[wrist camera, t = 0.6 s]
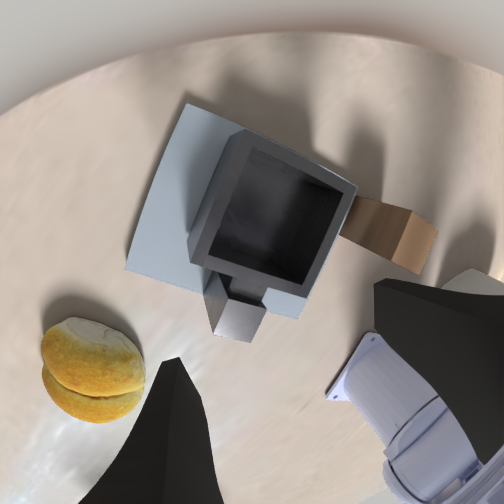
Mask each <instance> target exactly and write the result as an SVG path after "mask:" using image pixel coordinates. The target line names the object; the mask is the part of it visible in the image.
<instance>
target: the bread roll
mask: <svg viewBox="0 0 504 504" xmlns="http://www.w3.org/2000/svg"><path fill="white" fill-rule="evenodd" d="M41 352H42V355H43V358H44V360H45V363H44V365H43V369H42V379H43V382H44V385H45V388H46V390H47V392H48V394H49V395H50V397H51V398H52V400H53V401H54V402H55V403H56V404H57V405H58V406H59V407H60V408H61V409H62V410H64V411H65V412H66V413H68V414H70V415H71V416H73V417H75V418H78V419H80V420H83V421H87V422H92V423H107V422H111V421H114V420H117V419H119V418H121V417H123V416H125V415H127V414H128V413H129V412H130V411H132V410H133V409H134V408H135V407H136V405H137V404H138V403H139V401H140V400H141V397H142V395H143V392H144V384H145V376H146V370H145V365H144V361H143V359H142V356H141V354H140V352H139V350H138V349H137V347H136V346H135V345H134V344H133V343H132V342H131V341H130V340H129V339H128V338H127V337H126V336H125V335H124V334H123V333H121V332H119V331H117V330H114V329H112V328H109V327H107V326H105V325H104V324H101V323H99V322H95V321H91V320H87V319H84V318H77V317H71V318H68V319H66V320H64V321H63V322H61V323H59V324H56V325H54V326H53V327H51V328H50V329H48V330H47V332H46V333H45V335H44V337H43V340H42V345H41Z"/></svg>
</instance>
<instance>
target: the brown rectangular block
mask: <svg viewBox="0 0 504 504" xmlns="http://www.w3.org/2000/svg"><path fill="white" fill-rule="evenodd" d="M437 233H438V230H437V229H435V228H434V227H433V226H432V225H430V224H429V223H428V222H427V221H425V220H424V219H423V218H421V217H420V216H419V215H417V214H416V213H415V212H413V211H411V210H408V209H404V208H401V207H397V206H394V205H390V204H386V203H383V202H379V201H375V200H371V199H367V198H363V197H359V196H355V198H354V200H353V202H352V205H351V207H350V209H349V212H348V214H347V216H346V219H345V221H344V223H343V226H342V228H341V230H340V232H339V235H340V236H342V237H344V238H346V239H348V240H350V241H352V242H354V243H356V244H358V245H360V246H362V247H364V248H366V249H368V250H370V251H372V252H374V253H376V254H378V255H380V256H382V257H384V258H386V259H388V260H390V261H392V262H394V263H396V264H398V265H400V266H402V267H404V268H405V269H407V270H409V271H411V272H413V273H415V274H417V275H420V273H421V270H422V268H423V266H424V264H425V262H426V259H427V257H428V255H429V252H430V250H431V248H432V245H433V243H434V240H435V238H436V235H437Z"/></svg>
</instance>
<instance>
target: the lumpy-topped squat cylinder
mask: <svg viewBox="0 0 504 504" xmlns="http://www.w3.org/2000/svg"><path fill="white" fill-rule="evenodd" d="M440 289H445V290H451V291H457V292H463V293H471V294H483V295H504V283H502V282H500V281H498V280H496V279H494V278H492V277H490V276H488V275H486V274H484V273H482V272H480V271H478V270H476V269H474V268H470V269H468V270H465V271H464V272H462V273H460V274H458V275H457V276H455V277H454V278H452V279H451V280H450V281H448V282H447V283H446V284H444V285H443V286H442V287H441V288H440Z"/></svg>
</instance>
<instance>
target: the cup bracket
mask: <svg viewBox="0 0 504 504" xmlns="http://www.w3.org/2000/svg"><path fill="white" fill-rule="evenodd" d="M356 189H357V187H356V186H354V185H352V184H351V183H349V182H347V181H346V180H344V179H342V178H340V177H339V176H337V175H335V174H333V173H332V172H330V171H328V170H326V169H325V168H323V167H321V166H319V165H317V164H315V163H314V162H312V161H310V160H308V159H306V158H304V157H302V156H301V155H299V154H297V153H295V152H293V151H291V150H289V149H287V148H285V147H283V146H281V145H279V144H277V143H275V142H273V141H271V140H269V139H267V138H264V137H262V136H260V135H258V134H256V133H254V132H252V131H249V130H247V129H243V130H241V131H239V132H237V133H235V134H233V135H231V136H229V138H228V141H227V143H226V145H225V147H224V150H223V152H222V154H221V157H220V159H219V161H218V163H217V166H216V168H215V171H214V173H213V175H212V178H211V180H210V182H209V185H208V187H207V190H206V192H205V195H204V197H203V200H202V202H201V205H200V207H199V210H198V212H197V215H196V217H195V220H194V222H193V225H192V228H191V230H190V233H189V236H188V238H187V248H188V254H189V260H190V263H192V264H195V265H198V266H201V267H204V268H208V269H211V270H212V272H211V275H210V277H209V280H208V282H207V285H206V287H205V290H204V292H203V296H204V301H205V305H206V309H207V313H208V317H209V320H210V324H211V328H212V332H213V335H217V336H222V337H226V338H231V339H235V340H240V341H244V342H249V343H251V341H252V339H253V337H254V335H255V333H256V331H257V329H258V327H259V325H260V323H261V321H262V319H263V317H264V315H265V313H266V311H267V308H266V307H265V305H264V304H263V302H262V299H263V297H264V295H265V293H266V291H267V288H268V287H269V288H272V289H275V290H279V291H282V292H285V293H289V294H292V295H296V296H299V297H302V298H306V299H307V297H308V295H309V293H310V291H311V289H312V287H313V285H314V283H315V281H316V279H317V276H318V274H319V272H320V270H321V268H322V266H323V264H324V262H325V260H326V257H327V255H328V253H329V251H330V249H331V247H332V244H333V242H334V240H335V238H336V236H337V233H338V231H339V229H340V227H341V224H342V222H343V220H344V217H345V215H346V213H347V210H348V208H349V206H350V203H351V201H352V198H353V196H354V194H355V191H356Z"/></svg>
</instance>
